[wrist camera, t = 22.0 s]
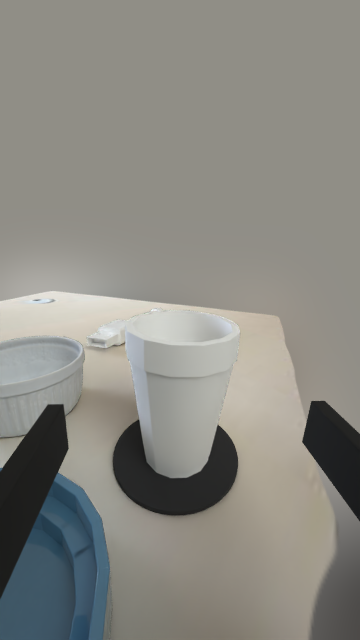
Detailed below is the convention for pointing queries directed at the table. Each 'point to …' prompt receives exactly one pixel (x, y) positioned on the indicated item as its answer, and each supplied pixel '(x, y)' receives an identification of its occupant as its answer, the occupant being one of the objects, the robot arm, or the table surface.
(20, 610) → the bowl
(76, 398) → the ramekin
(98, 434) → the table surface
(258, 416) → the table surface
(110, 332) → the charging cable
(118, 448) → the mat
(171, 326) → the foam cup
